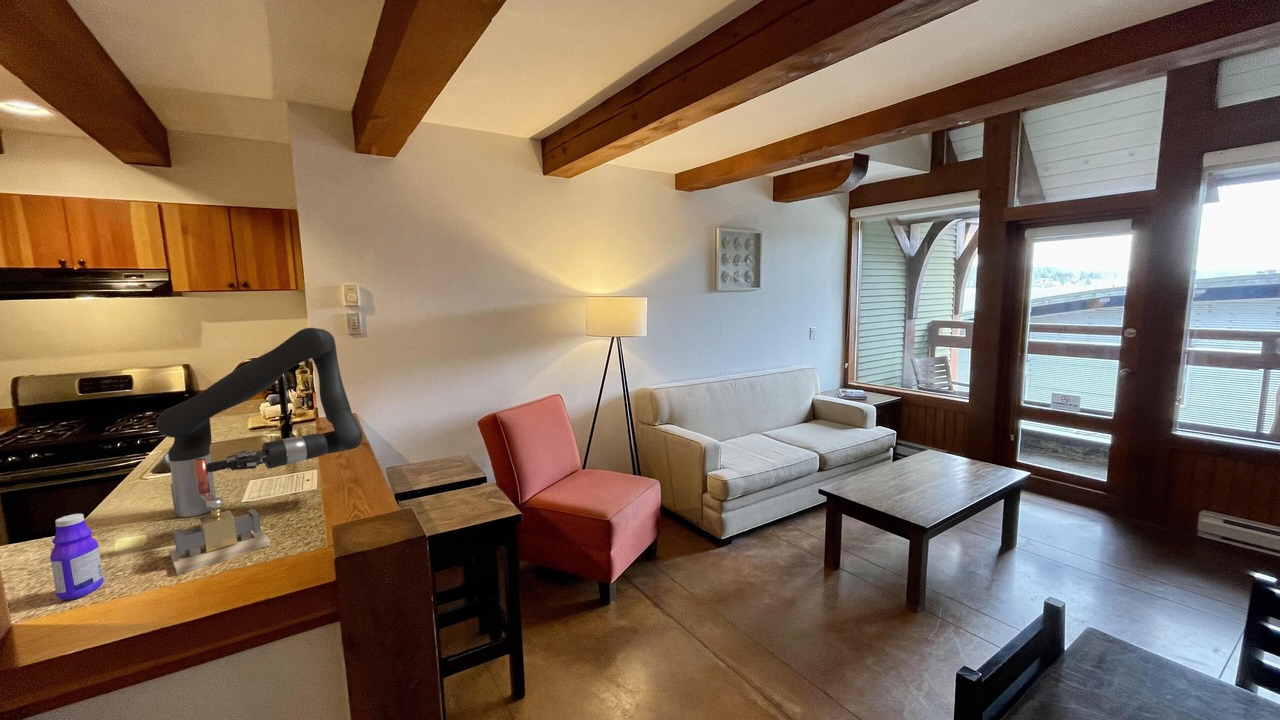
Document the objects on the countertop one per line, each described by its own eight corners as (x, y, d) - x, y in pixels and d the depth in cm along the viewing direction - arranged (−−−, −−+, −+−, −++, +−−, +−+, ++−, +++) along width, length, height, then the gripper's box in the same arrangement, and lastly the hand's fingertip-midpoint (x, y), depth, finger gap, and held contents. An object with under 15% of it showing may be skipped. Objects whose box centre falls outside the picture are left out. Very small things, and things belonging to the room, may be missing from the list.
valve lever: (208, 510, 124) (203, 470, 122) (196, 498, 132) (191, 460, 130) (225, 506, 126) (219, 466, 125) (211, 494, 134) (206, 457, 133)
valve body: (179, 561, 120) (173, 522, 118) (176, 554, 123) (170, 515, 122) (261, 536, 131) (257, 500, 130) (256, 530, 135) (252, 495, 134)
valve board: (177, 575, 116) (176, 569, 116) (169, 555, 125) (169, 550, 125) (270, 545, 129) (270, 540, 129) (258, 529, 139) (257, 524, 139)
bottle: (84, 584, 114) (71, 511, 111) (111, 582, 114) (99, 509, 112) (49, 603, 106) (35, 525, 104) (79, 601, 107) (65, 524, 105)
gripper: (277, 435, 149) (200, 449, 136) (290, 443, 140) (209, 459, 127) (280, 459, 150) (204, 476, 137) (293, 469, 141) (213, 487, 128)
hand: (207, 468), depth 132 cm, fingers closed
